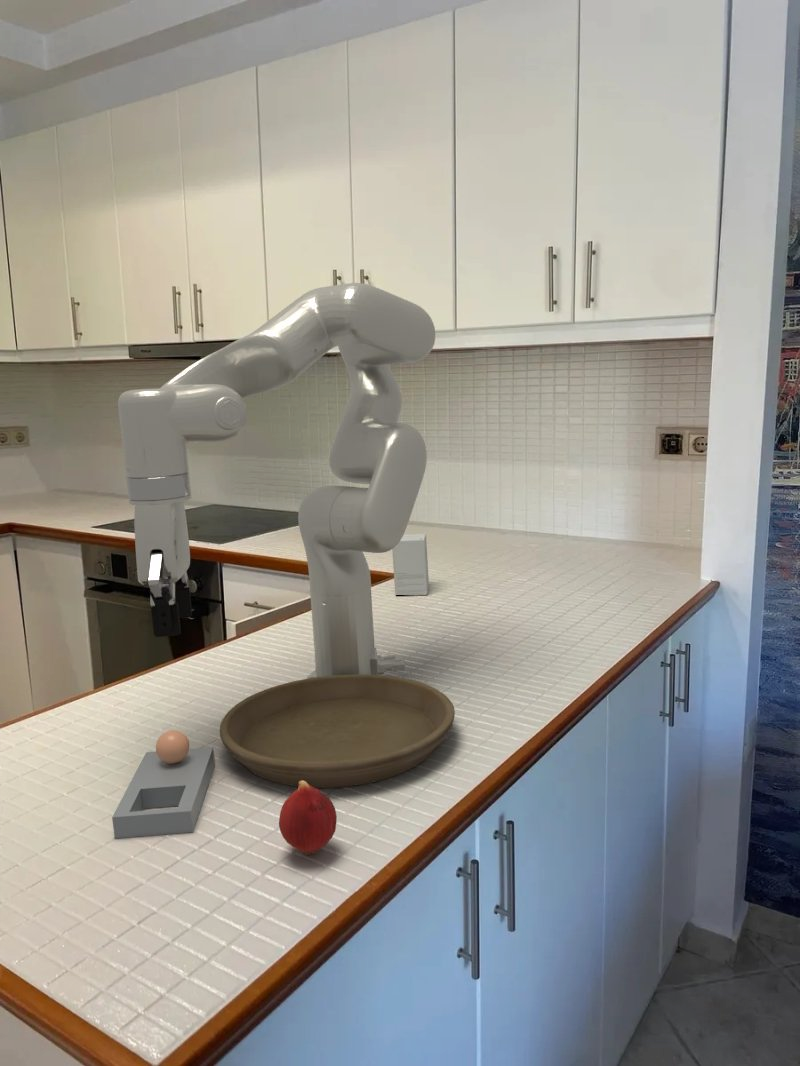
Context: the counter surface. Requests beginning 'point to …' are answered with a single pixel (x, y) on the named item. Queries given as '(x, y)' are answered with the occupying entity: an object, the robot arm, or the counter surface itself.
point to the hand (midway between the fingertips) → (173, 625)
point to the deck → (164, 795)
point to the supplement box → (411, 565)
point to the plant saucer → (337, 729)
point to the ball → (172, 746)
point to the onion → (307, 819)
